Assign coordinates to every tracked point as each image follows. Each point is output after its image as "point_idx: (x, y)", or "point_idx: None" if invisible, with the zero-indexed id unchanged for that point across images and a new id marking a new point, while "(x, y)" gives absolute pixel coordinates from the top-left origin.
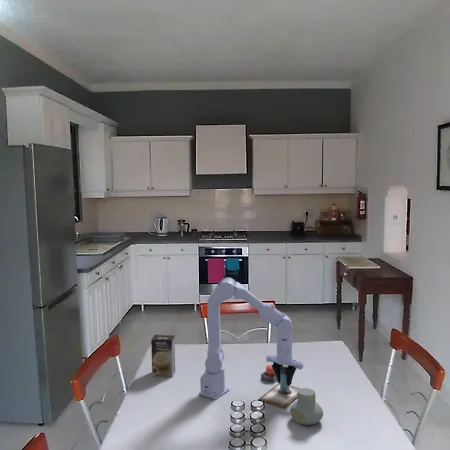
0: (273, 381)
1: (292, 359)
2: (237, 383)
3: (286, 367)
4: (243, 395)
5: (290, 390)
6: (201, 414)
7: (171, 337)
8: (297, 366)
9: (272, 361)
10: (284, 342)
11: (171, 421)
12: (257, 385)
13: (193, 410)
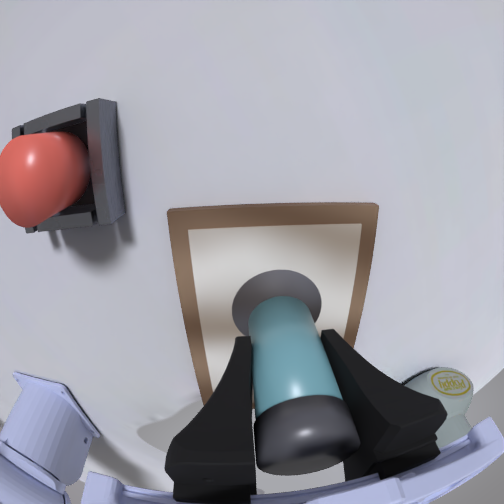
0: (119, 214)
1: (423, 499)
2: (29, 327)
3: (325, 447)
4: (128, 397)
5: (304, 279)
6: (146, 471)
7: None
8: (453, 458)
9: (162, 500)
10: None
11: (133, 484)
12: (87, 301)
13: (119, 465)
